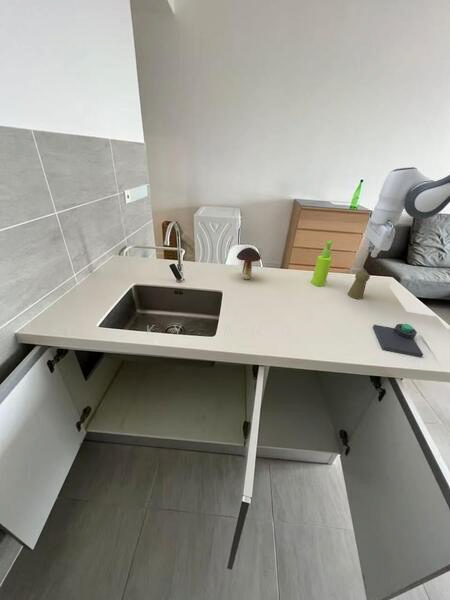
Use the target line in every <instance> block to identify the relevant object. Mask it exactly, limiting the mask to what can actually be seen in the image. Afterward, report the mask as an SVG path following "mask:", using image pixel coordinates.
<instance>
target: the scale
mask: <svg viewBox="0 0 450 600" xmlns="http://www.w3.org/2000/svg"><path fill="white" fill-rule="evenodd" d="M403 324H404V323H397V324H396V325H395V327H389V326H385V325H378V324H373V325H372V330H373V332H374V334H375V337H376V339H377V341H378V344H379V346H380V349H381V350H382V351H385V352H390V353H395V354H401V355H407V356H411V357H417V358H423V356H424V353H423V351H422V350H421V348H420V346H419V345H418V343H417V342H416V340H415V337H416V336H417V334H418V332H417V330H416V329H415V328H413V330H412V331H411V333H408V332H405V331H403V330H402V329H401V327H402V325H403Z"/></svg>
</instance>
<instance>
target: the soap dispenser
mask: <svg viewBox="0 0 450 600" xmlns="http://www.w3.org/2000/svg"><path fill="white" fill-rule="evenodd" d="M333 243H334V240H331V239H328V240H327V241H326V243H325V244H326V245H325V248H323V249H322V252H321V254H319V255H318V256H317V260H316V263H315V267H314V271H313V275H312V279H311V284H312V285H313V286H315V287H324V286H325V285H326V281H327V278H328V275H329V272H330V267H331V265H332V261H333V257H332V256H331V255H332V254H331V253H332V249H331V245H332V244H333Z"/></svg>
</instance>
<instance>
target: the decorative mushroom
mask: <svg viewBox="0 0 450 600" xmlns="http://www.w3.org/2000/svg"><path fill="white" fill-rule="evenodd" d="M236 259H237V260H239V261H243V267H242V273H241V275H242V278H243V279H245V280H249V279H251V277H252V273H253V272H252V271H253V264H252V263H254V262H259V261H261V259H262V256H261V254H260V253H259V252H258V251H257V250H256V249H254V248H252V247H245V248H243V249H241V250H240V251H239V252H238V253H237V255H236Z"/></svg>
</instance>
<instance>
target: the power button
mask: <svg viewBox="0 0 450 600" xmlns="http://www.w3.org/2000/svg"><path fill="white" fill-rule="evenodd" d="M402 324H403V325H402V327H401V329H402V330H403V331H405V332H408V333H411V331H412V330H413V329H414V327H413V326H412V325H411V324H408V323H402Z"/></svg>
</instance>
